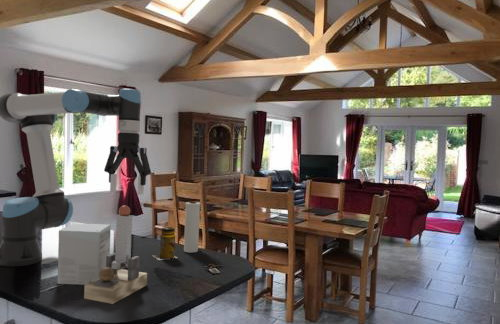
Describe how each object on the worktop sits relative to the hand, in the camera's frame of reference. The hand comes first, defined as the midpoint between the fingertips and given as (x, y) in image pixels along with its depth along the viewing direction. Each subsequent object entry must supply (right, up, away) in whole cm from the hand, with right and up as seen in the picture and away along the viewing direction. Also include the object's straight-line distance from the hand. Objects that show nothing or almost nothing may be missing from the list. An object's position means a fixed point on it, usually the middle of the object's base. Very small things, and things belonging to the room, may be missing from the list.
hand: (126, 193), depth 155 cm
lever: (+4, -22, -21) cm, 31 cm away
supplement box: (-11, -28, -11) cm, 32 cm away
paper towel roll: (+20, -28, +31) cm, 46 cm away
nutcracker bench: (+3, -29, -22) cm, 37 cm away
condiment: (+10, -28, +19) cm, 35 cm away
